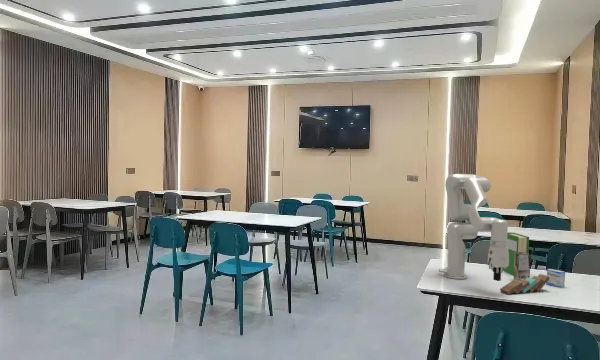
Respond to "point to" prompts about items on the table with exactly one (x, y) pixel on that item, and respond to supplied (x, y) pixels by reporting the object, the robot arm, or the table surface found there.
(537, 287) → the domino
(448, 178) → the robot arm
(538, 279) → the domino
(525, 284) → the domino
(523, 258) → the coffee box
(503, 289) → the domino
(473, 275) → the table surface
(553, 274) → the medicine box
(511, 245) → the hardback book
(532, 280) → the gap domino
